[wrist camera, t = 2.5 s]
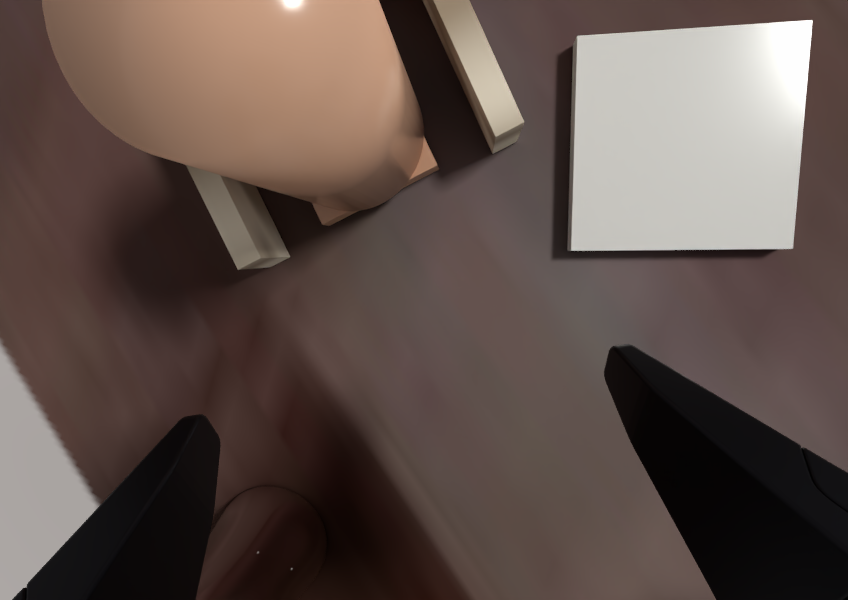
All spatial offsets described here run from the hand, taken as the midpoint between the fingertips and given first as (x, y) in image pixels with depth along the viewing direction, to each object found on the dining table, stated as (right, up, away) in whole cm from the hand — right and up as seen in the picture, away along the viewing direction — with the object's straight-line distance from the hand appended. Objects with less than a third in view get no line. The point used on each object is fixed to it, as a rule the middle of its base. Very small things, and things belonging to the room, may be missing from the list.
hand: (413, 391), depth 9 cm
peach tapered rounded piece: (-3, +10, +11) cm, 15 cm away
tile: (+11, +9, +9) cm, 17 cm away
